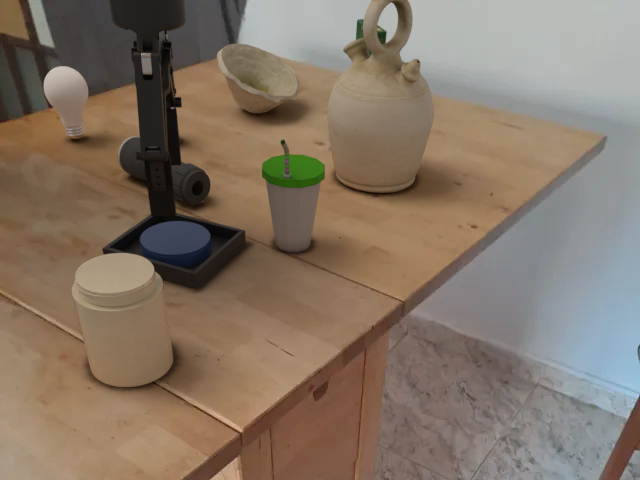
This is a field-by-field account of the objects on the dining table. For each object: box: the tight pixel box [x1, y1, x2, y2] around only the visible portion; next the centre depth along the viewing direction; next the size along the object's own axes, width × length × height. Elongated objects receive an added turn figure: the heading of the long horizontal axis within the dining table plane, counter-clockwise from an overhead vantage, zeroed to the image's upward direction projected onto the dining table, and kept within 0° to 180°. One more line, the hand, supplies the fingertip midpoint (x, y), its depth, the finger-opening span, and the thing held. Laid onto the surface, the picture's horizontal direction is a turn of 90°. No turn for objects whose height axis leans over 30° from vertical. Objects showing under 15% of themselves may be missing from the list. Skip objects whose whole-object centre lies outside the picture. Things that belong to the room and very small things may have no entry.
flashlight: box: [117, 135, 211, 205], centre depth 99 cm, size 15×5×5 cm, turn 47°
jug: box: [326, 0, 434, 194], centre depth 98 cm, size 15×16×25 cm
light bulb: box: [43, 65, 89, 141], centre depth 110 cm, size 7×7×11 cm
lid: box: [140, 221, 211, 267], centre depth 86 cm, size 9×9×2 cm
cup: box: [261, 139, 326, 253], centre depth 85 cm, size 8×8×15 cm
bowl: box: [216, 43, 300, 114], centre depth 123 cm, size 15×14×10 cm
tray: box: [102, 212, 247, 290], centre depth 87 cm, size 13×12×2 cm
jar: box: [71, 253, 174, 388], centre depth 67 cm, size 8×8×10 cm
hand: (167, 188), depth 82 cm, fingers open, 13 cm apart
